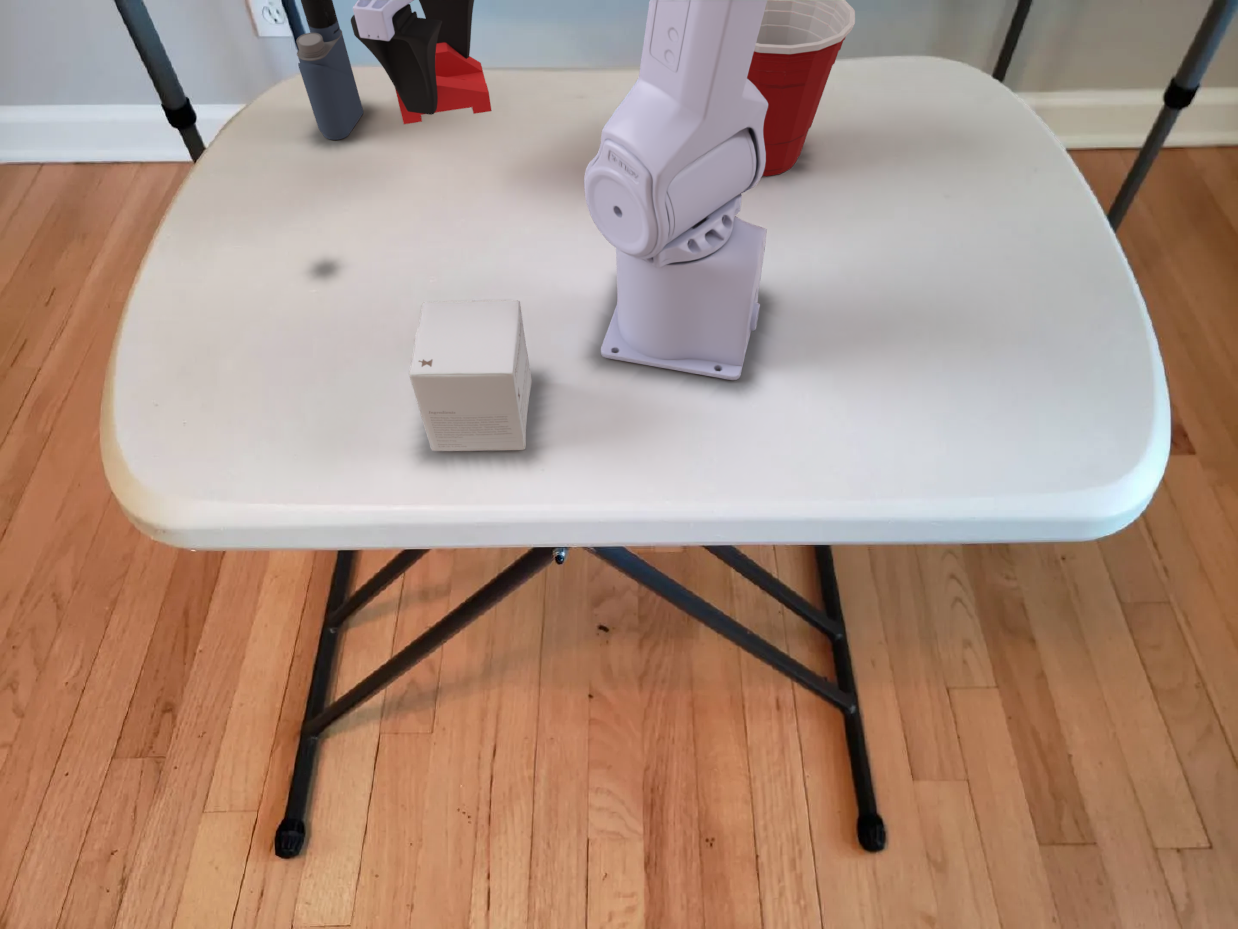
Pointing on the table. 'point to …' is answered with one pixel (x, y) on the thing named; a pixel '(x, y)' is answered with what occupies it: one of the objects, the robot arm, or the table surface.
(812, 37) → the plastic cup
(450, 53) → the bracket
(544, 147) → the table surface
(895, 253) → the table surface
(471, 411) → the product box
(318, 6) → the vaping device
